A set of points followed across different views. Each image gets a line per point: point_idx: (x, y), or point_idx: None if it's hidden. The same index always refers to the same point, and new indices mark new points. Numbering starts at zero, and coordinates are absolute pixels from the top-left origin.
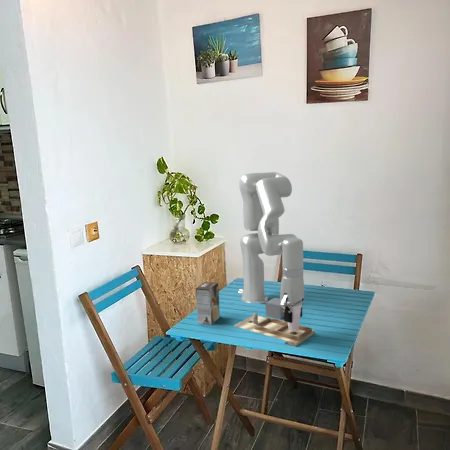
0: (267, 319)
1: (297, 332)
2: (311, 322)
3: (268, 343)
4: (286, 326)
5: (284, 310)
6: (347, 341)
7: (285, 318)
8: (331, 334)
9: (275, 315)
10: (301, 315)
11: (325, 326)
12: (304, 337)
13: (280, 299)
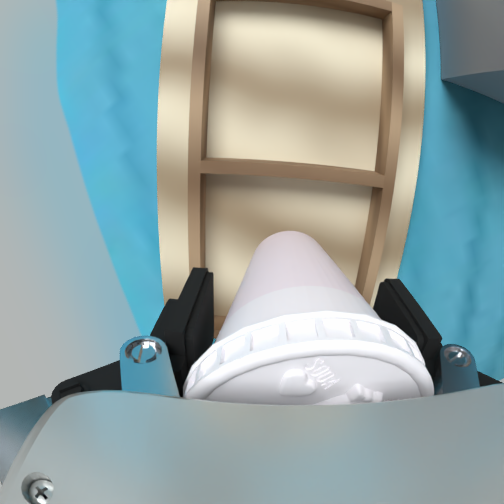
0: (365, 5)
1: None
2: (491, 246)
3: (113, 165)
4: (335, 180)
5: (106, 375)
6: None
7: (167, 307)
8: None
9: (460, 38)
10: None
11: (461, 320)
12: None
13: (21, 447)
